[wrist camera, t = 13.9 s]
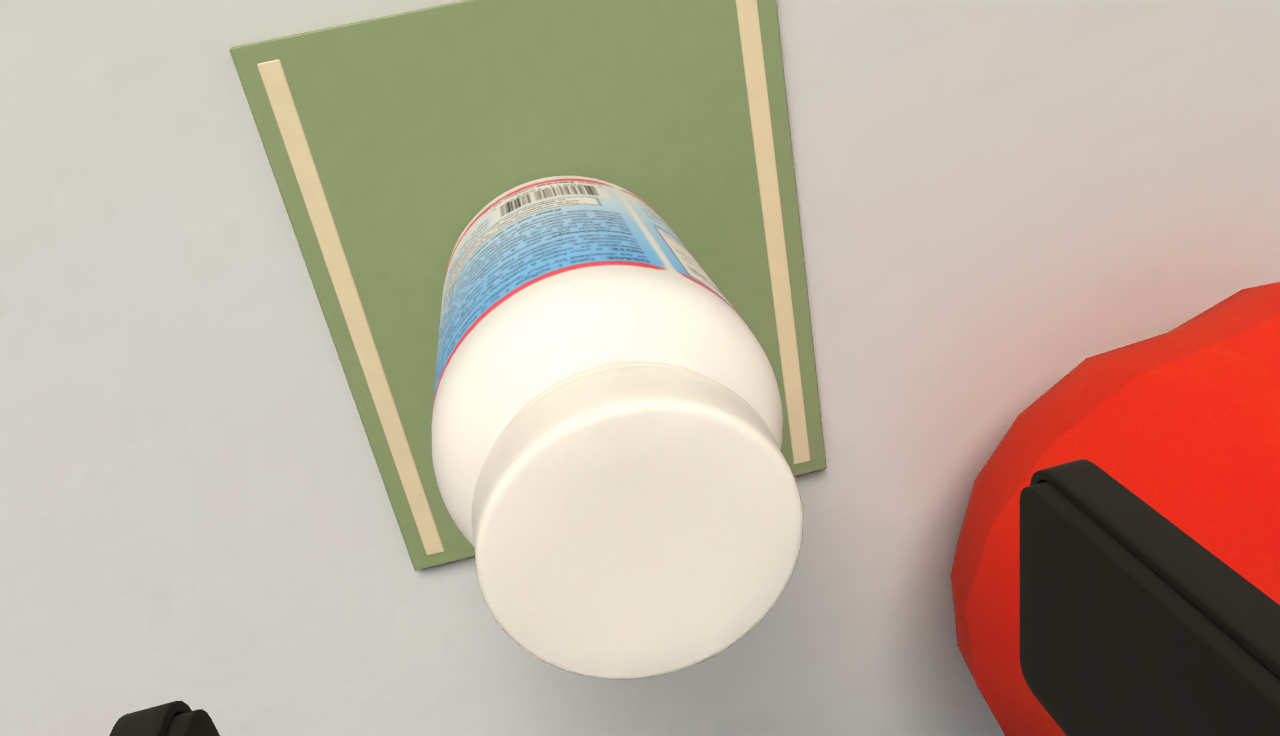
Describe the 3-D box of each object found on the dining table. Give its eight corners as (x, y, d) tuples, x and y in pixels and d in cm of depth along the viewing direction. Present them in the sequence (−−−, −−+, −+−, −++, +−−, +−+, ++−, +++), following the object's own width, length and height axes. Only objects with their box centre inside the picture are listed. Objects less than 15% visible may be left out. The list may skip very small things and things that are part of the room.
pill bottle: (418, 375, 23) (372, 697, 13) (477, 139, 21) (478, 298, 11) (643, 423, 24) (763, 744, 14) (719, 209, 22) (921, 404, 12)
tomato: (834, 386, 25) (1030, 613, 16) (1373, 151, 25) (1871, 249, 16) (948, 722, 31) (1135, 1021, 22) (1381, 535, 31) (1745, 761, 22)
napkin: (232, 47, 19) (228, 48, 19) (766, -60, 20) (770, -61, 20) (415, 565, 25) (415, 572, 25) (823, 463, 26) (827, 469, 26)
